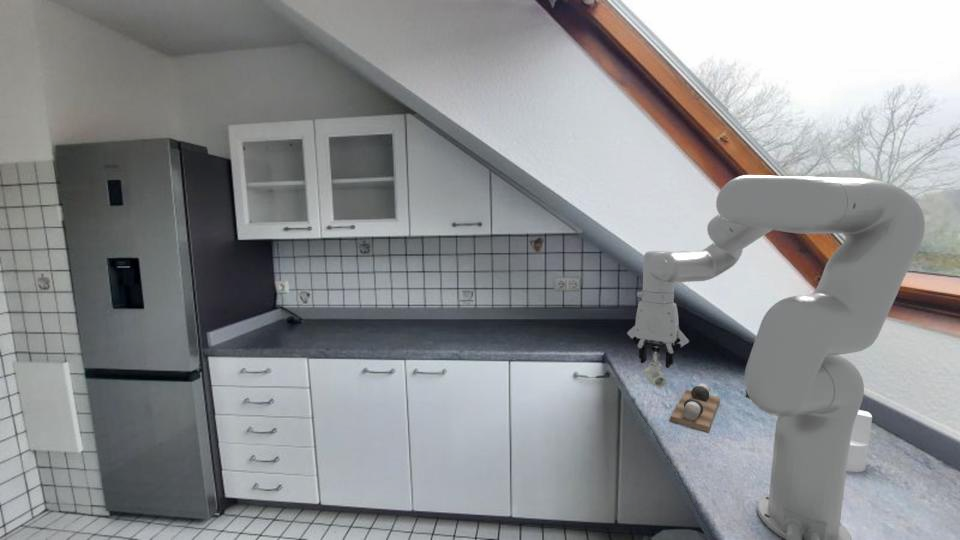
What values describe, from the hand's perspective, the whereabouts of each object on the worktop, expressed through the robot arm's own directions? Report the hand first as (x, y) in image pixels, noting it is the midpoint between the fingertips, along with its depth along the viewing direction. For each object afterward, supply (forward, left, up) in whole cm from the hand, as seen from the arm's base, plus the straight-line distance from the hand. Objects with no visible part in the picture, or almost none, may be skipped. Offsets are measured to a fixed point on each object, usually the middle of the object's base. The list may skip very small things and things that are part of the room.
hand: (655, 363), depth 101 cm
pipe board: (+12, -8, -16) cm, 22 cm away
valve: (0, 0, -6) cm, 6 cm away
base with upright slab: (+7, -37, -16) cm, 41 cm away
